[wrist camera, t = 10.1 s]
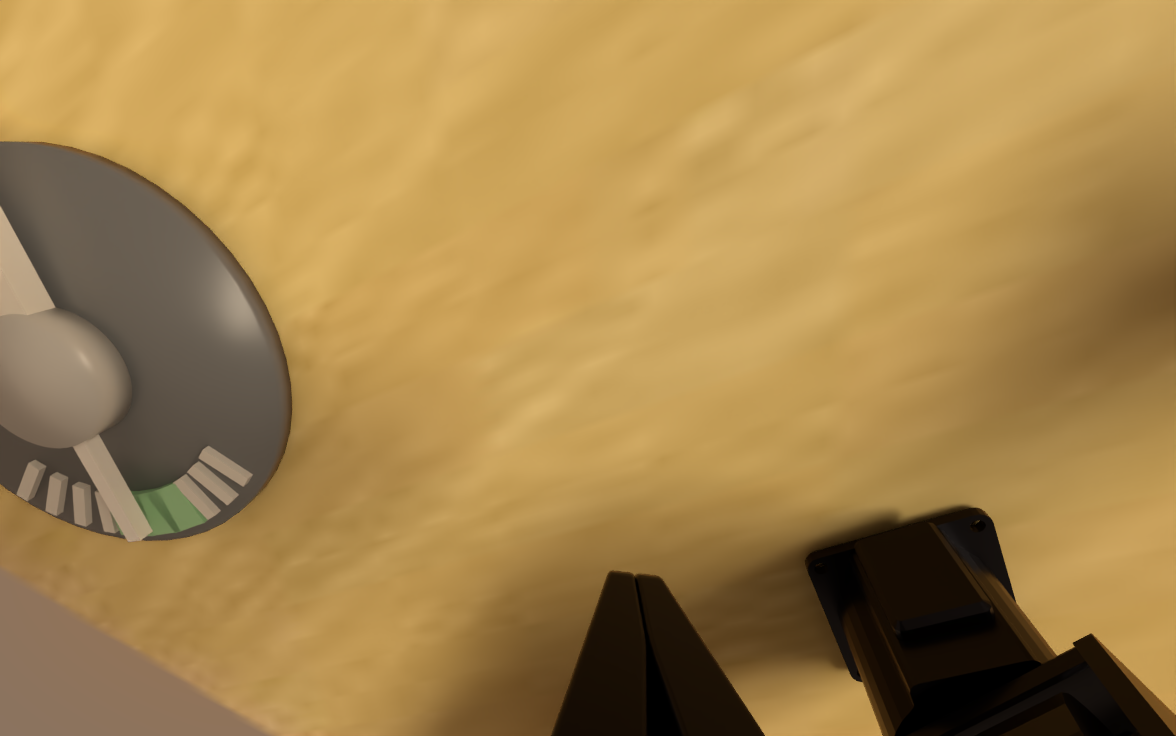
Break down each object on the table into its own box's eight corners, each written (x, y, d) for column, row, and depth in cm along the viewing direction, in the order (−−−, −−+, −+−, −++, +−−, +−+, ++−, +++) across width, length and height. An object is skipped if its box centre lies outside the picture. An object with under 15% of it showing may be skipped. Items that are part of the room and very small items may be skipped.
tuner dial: (368, 460, 23) (355, 475, 22) (93, 569, 27) (71, 586, 26) (102, 52, 18) (69, 47, 17) (-181, 256, 22) (-221, 262, 21)
